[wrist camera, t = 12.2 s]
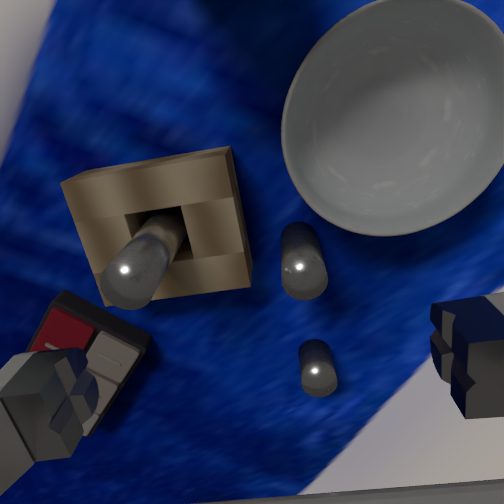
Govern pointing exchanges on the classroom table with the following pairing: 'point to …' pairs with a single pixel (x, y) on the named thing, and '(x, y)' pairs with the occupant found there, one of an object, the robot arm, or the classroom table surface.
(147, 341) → the calculator
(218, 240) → the block
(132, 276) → the long pin
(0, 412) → the robot arm
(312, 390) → the short pin
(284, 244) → the medium pin
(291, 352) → the classroom table surface
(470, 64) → the cereal bowl
